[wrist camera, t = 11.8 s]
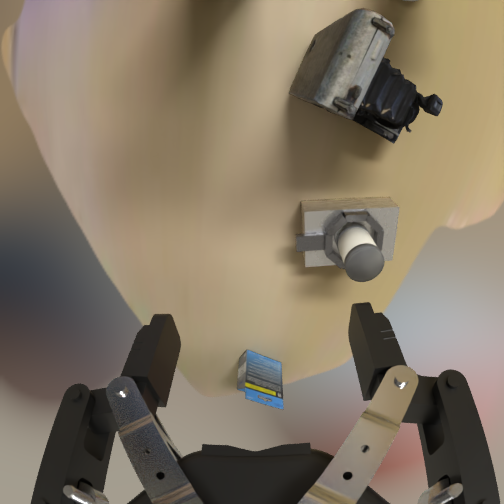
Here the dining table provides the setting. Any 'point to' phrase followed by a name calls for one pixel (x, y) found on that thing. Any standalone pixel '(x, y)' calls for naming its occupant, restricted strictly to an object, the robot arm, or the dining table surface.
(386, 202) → the octagonal ring slab
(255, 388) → the blue printed box
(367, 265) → the cream grey cylinder
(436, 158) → the dining table surface
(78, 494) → the robot arm
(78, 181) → the dining table surface
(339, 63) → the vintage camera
